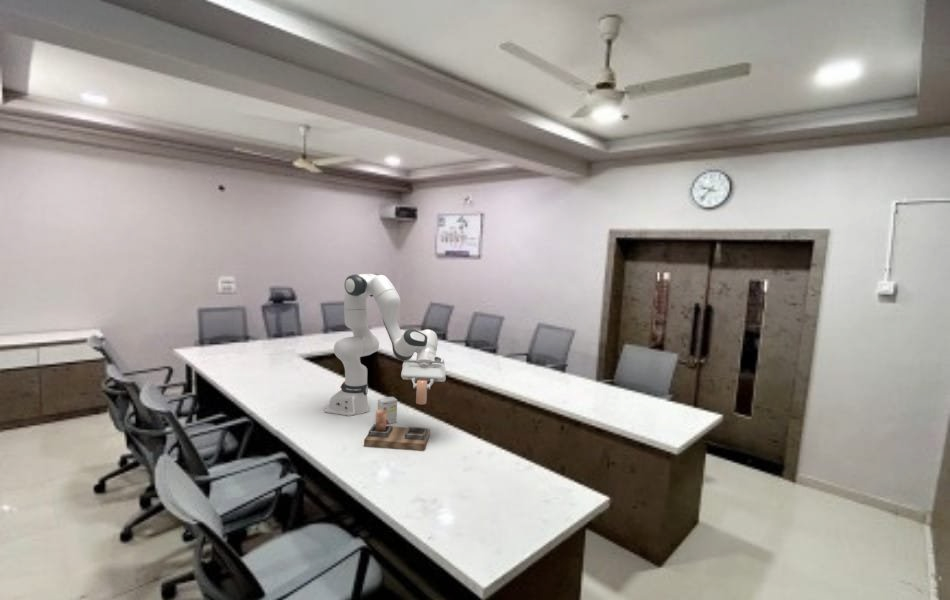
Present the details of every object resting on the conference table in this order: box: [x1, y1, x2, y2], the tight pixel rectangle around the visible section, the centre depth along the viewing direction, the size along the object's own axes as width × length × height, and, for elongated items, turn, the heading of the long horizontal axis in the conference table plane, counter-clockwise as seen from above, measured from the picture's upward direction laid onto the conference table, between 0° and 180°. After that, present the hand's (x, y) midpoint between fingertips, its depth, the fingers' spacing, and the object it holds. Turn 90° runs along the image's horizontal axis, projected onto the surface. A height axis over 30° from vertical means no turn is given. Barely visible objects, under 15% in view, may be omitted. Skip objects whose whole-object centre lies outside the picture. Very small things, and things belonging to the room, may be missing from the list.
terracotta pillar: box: [415, 380, 428, 406], centre depth 202 cm, size 5×5×10 cm
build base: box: [363, 409, 431, 452], centre depth 200 cm, size 26×16×13 cm, turn 87°
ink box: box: [376, 396, 398, 425], centre depth 220 cm, size 9×5×12 cm, turn 127°
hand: (421, 388), depth 201 cm, fingers closed on terracotta pillar, 5 cm apart
